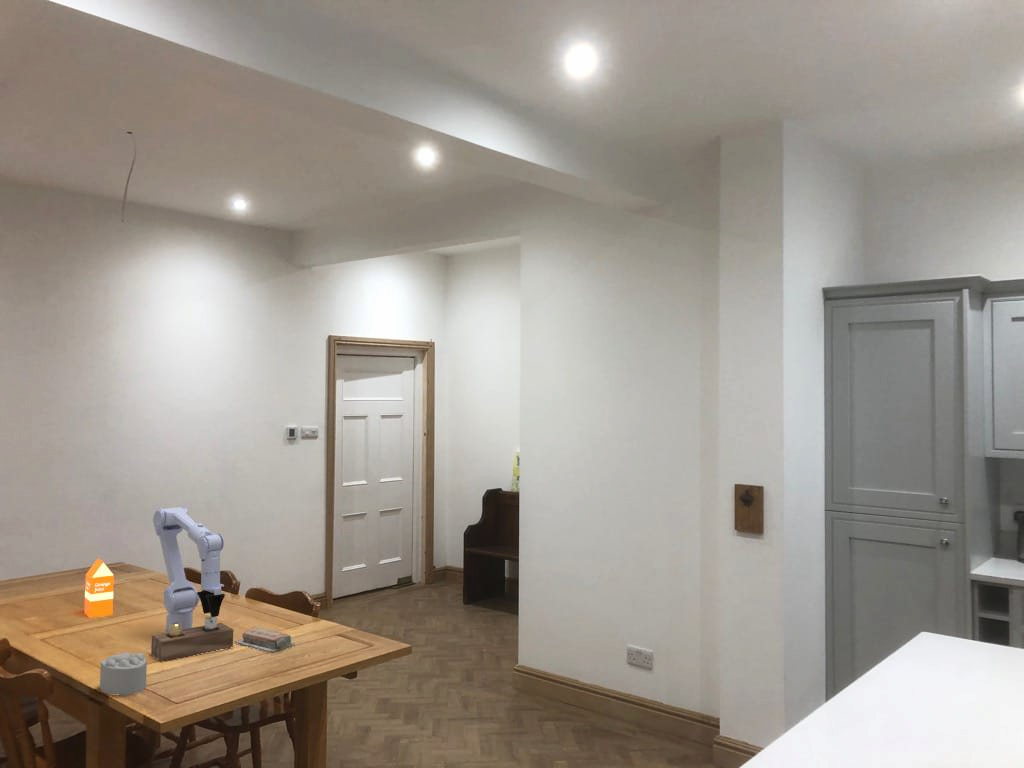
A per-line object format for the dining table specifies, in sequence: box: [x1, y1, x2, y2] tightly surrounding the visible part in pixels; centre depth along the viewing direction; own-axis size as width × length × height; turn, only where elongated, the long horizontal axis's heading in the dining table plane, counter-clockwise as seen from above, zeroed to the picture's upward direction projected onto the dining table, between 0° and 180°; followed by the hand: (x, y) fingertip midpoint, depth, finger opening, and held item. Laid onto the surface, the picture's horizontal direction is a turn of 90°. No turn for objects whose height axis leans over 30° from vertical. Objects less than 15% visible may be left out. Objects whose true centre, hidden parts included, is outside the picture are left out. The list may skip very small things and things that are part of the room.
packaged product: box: [235, 626, 296, 654], centre depth 252 cm, size 18×5×10 cm
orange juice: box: [84, 558, 115, 619], centre depth 286 cm, size 8×9×20 cm
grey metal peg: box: [204, 616, 218, 632], centre depth 248 cm, size 4×4×6 cm
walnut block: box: [150, 622, 234, 662], centre depth 245 cm, size 10×22×6 cm, turn 132°
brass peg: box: [169, 622, 182, 638], centre depth 241 cm, size 4×4×6 cm
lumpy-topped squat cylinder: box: [99, 652, 148, 696], centre depth 212 cm, size 10×13×9 cm
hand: (211, 614), depth 248 cm, fingers open, 7 cm apart
